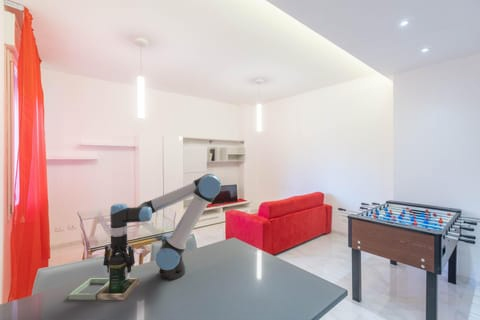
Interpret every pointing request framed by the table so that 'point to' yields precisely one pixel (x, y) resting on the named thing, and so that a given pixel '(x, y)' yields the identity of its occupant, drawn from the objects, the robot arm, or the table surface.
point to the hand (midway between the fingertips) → (119, 278)
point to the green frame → (88, 296)
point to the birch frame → (104, 296)
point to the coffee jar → (117, 275)
